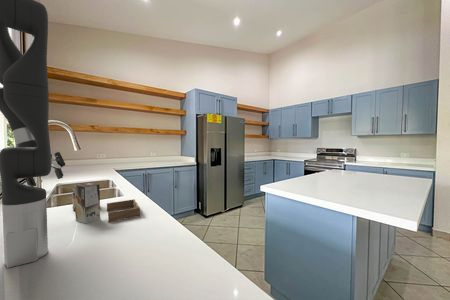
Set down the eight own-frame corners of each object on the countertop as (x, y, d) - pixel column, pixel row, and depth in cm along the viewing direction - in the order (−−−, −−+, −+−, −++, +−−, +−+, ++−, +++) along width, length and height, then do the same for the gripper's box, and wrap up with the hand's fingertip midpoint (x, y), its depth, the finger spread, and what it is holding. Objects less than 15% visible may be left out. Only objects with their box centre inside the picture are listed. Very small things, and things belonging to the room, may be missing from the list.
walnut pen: (139, 216, 91) (139, 207, 91) (108, 222, 84) (108, 213, 84) (134, 206, 105) (134, 199, 105) (107, 211, 98) (106, 203, 98)
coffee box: (101, 219, 88) (100, 184, 87) (85, 224, 82) (84, 186, 81) (90, 215, 92) (89, 182, 91) (74, 220, 86) (73, 184, 86)
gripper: (9, 141, 63) (29, 187, 64) (58, 136, 76) (73, 174, 78) (-2, 147, 66) (18, 191, 67) (47, 140, 79) (62, 177, 80)
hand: (47, 182), depth 72 cm, fingers open, 8 cm apart
